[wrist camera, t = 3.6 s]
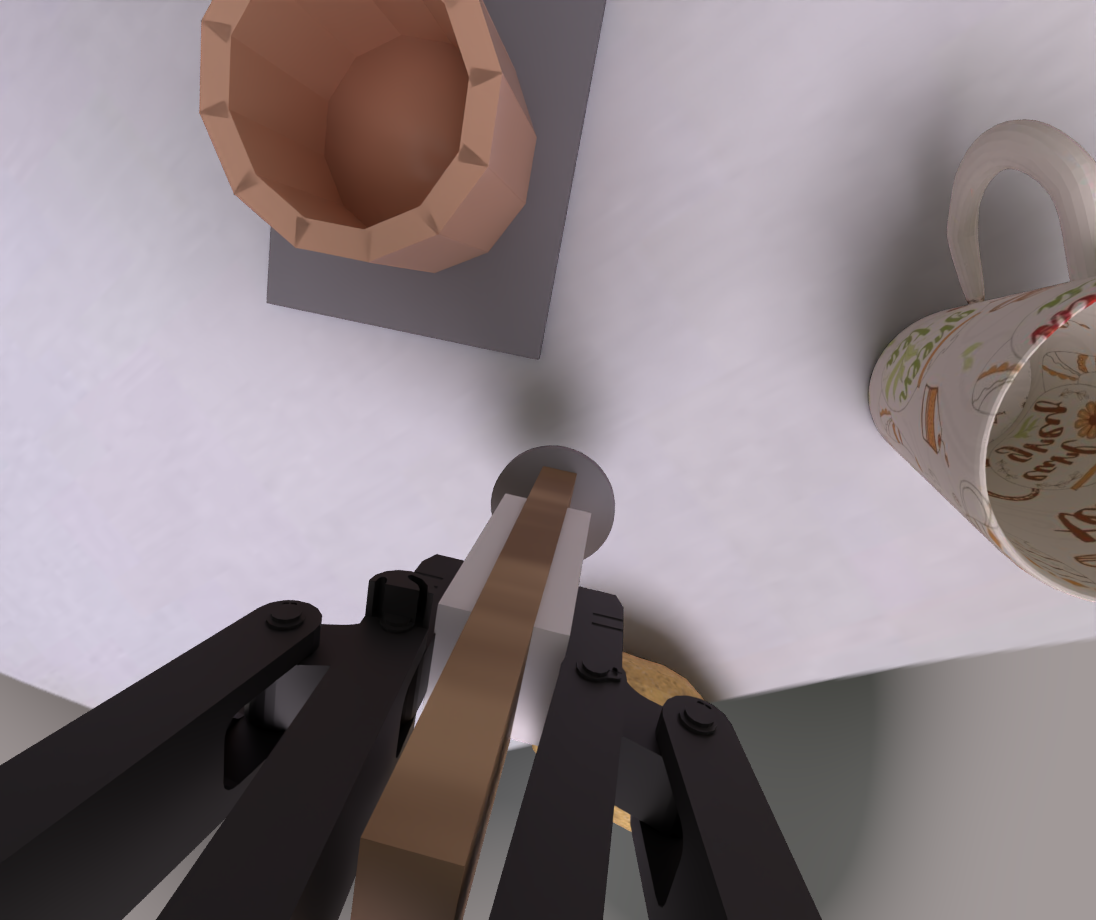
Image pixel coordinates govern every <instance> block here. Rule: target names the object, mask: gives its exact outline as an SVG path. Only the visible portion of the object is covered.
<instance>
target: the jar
mask: <svg viewBox="0 0 1096 920" xmlns="http://www.w3.org/2000/svg"><path fill="white" fill-rule="evenodd" d="M199 113H200V115H201V117H202V120H203V122H204V124H205V127H206V129H207V131H208V134H209V136H210V139H211V141H212V143H213V146H214V148H215V150H216V153H217V155H218V157H219V160H220V162H221V164H222V167H223V169H224V171H225V174H226V176H227V178H228V181H229V183H230V186H231V188H232V190H233V193H234V195H236V196H237V197H238V198H239V199H240V200H242V201H243V202H244V203H245V204H246V205H247V206H248V207H250V208H251V209H252V210H253V211H254V212H255V213H256V214H258V215H259V216H260V217H261V218H262V219H263V220H264V221H266V222H267V223H268V224H269V225H270V226H271V227H272V228H273V229H275V230H276V231H277V232H278V233H279V234H280V235H281V236H283V237H284V238H285V239H286V240H287V241H288V242H289V243H291V244H292V245H293V246H294V247H295V248H299V249H305V250H310V251H315V252H320V253H325V254H330V255H335V256H340V257H345V258H350V259H355V260H360V261H365V262H368V263H374V264H381V265H387V266H393V267H399V268H406V269H412V270H418V271H425V272H431V273H436V272H439V271H441V270H444V269H447V268H449V267H452V266H454V265H457V264H460V263H462V262H465V261H467V260H470V259H472V258H475V257H478V256H480V255H483V254H485V253H488V252H489V251H490V249H491V248H492V247H493V245H494V244H495V243H496V241H497V240H498V239H499V238H500V236H501V235H502V234H503V232H504V231H505V230H506V229H507V227H508V226H509V225H510V223H511V222H512V221H513V219H514V218H515V217H516V216H517V214H518V213H519V212H520V210H521V209H522V208H523V207H524V205H525V204H526V198H527V192H528V187H529V181H530V175H531V169H532V163H533V157H534V151H535V145H536V139H537V137H536V134H535V131H534V128H533V124H532V121H531V118H530V115H529V112H528V109H527V105H526V102H525V99H524V96H523V93H522V90H521V86H520V83H519V80H518V77H517V74H516V70H515V68H514V66H513V64H512V62H511V60H510V58H509V56H508V53H507V51H506V49H505V47H504V45H503V43H502V41H501V39H500V36H499V34H498V32H497V30H496V28H495V26H494V24H493V22H492V19H491V17H490V15H489V13H488V11H487V9H486V7H485V5H484V2H483V0H212V2H211V4H210V6H209V7H208V9H207V11H206V13H205V15H204V17H203V19H202V21H201V66H200V111H199Z"/></svg>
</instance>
